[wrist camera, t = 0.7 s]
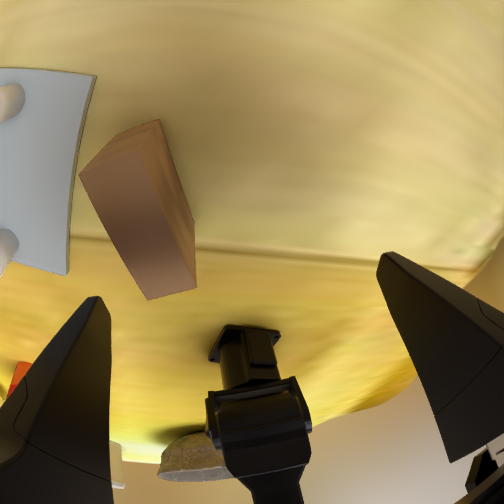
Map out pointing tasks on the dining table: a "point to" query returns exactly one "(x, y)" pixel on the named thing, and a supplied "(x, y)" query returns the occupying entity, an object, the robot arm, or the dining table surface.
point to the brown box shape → (144, 210)
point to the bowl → (193, 460)
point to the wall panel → (39, 163)
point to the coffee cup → (116, 465)
